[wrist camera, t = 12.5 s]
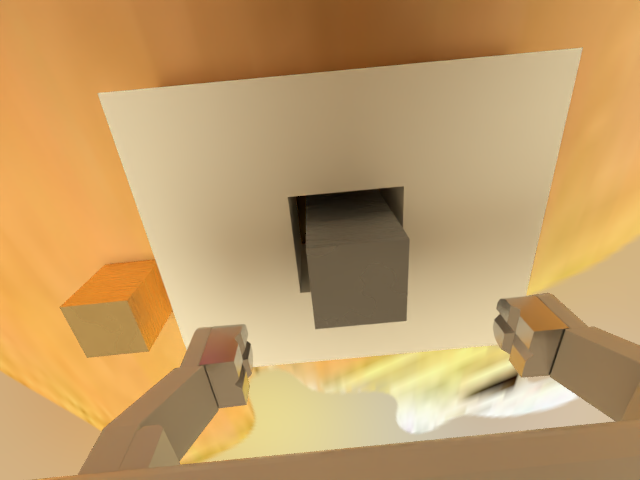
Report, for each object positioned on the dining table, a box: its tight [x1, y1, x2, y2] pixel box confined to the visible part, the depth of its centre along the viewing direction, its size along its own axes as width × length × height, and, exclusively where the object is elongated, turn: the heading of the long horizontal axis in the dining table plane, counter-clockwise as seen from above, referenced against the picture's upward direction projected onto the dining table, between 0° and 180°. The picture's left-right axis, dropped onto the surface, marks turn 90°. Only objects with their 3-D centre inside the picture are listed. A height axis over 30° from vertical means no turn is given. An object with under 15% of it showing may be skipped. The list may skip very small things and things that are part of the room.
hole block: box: [98, 48, 583, 367], centre depth 20 cm, size 16×20×6 cm
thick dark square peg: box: [306, 189, 410, 329], centre depth 18 cm, size 4×4×10 cm
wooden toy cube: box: [60, 260, 173, 358], centre depth 23 cm, size 4×4×5 cm
